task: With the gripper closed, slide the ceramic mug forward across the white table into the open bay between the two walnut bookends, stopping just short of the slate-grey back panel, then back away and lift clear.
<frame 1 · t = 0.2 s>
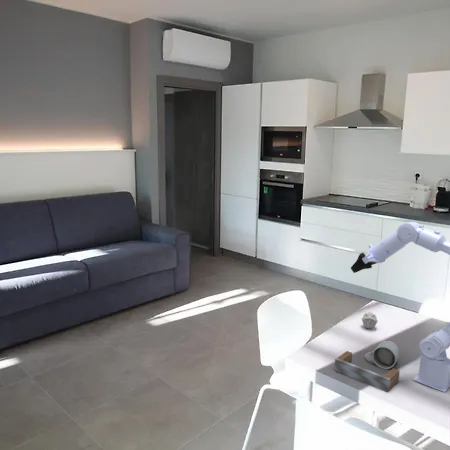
hand: (357, 267, 152), 31 cm above the table, tool tilted 45°, fingers open, 7 cm apart
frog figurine: (368, 328, 178), on the table
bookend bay: (366, 375, 142), on the table
ceramic mug: (381, 363, 150), on the table
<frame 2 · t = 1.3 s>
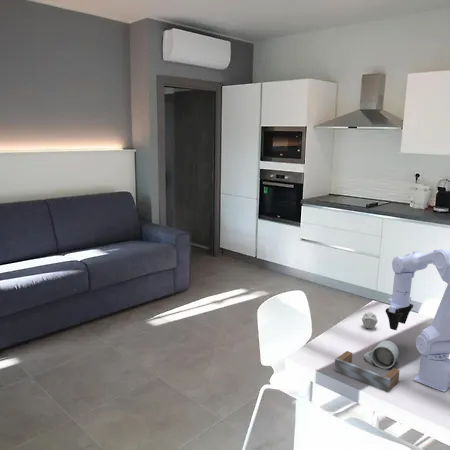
hand: (397, 326, 157), 10 cm above the table, tool pointing down, fingers open, 7 cm apart
nothing on the table moved.
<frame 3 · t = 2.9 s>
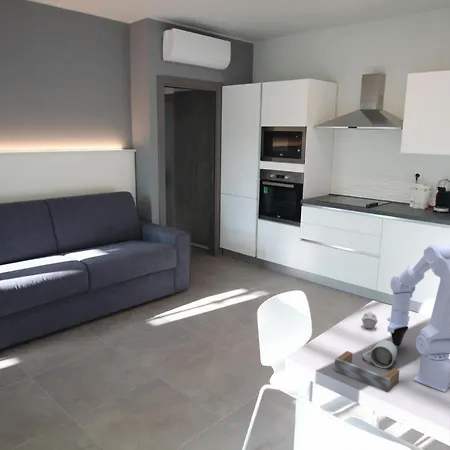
hand: (396, 345, 158), 2 cm above the table, tool pointing down, fingers closed
nothing on the table moved.
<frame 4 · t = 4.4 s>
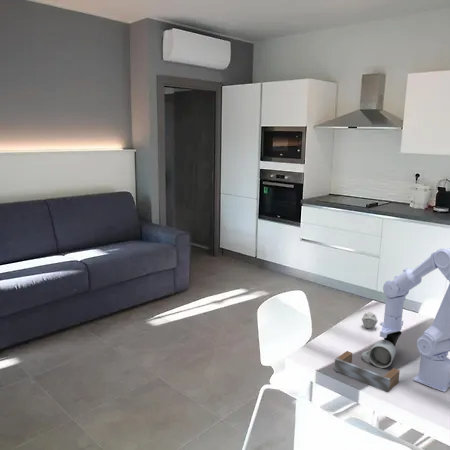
hand: (389, 350, 154), 2 cm above the table, tool pointing down, fingers closed
ceramic mug: (377, 362, 150), on the table, touching gripper
everything else where it was.
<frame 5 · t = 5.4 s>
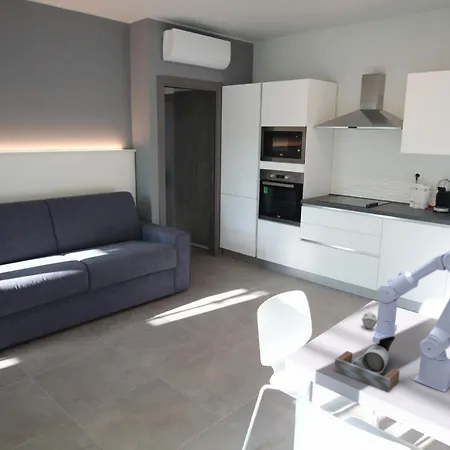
hand: (382, 356, 150), 2 cm above the table, tool pointing down, fingers closed
ceramic mug: (370, 368, 146), on the table, touching gripper
everything else where it was.
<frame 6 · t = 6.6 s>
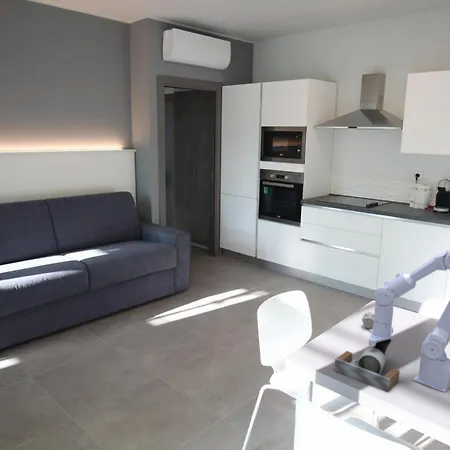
hand: (379, 358, 148), 2 cm above the table, tool pointing down, fingers closed
ceramic mug: (366, 371, 144), on the table, touching gripper
everything else where it was.
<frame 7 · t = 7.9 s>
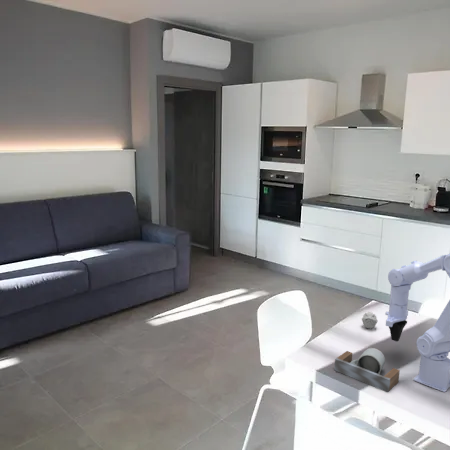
hand: (395, 340, 153), 7 cm above the table, tool pointing down, fingers closed
ceramic mug: (366, 372, 144), on the table
everything else where it was.
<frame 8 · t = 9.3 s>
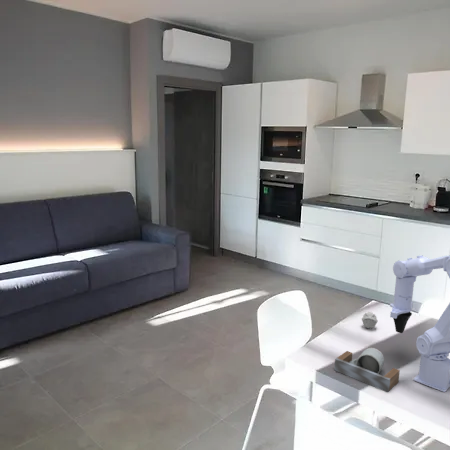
hand: (399, 331, 153), 9 cm above the table, tool pointing down, fingers closed
nothing on the table moved.
at the end: ceramic mug inside the target area (1.6 cm from its centre), on the table; ceramic mug tilted 1°; ceramic mug moved 9.2 cm from its start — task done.
